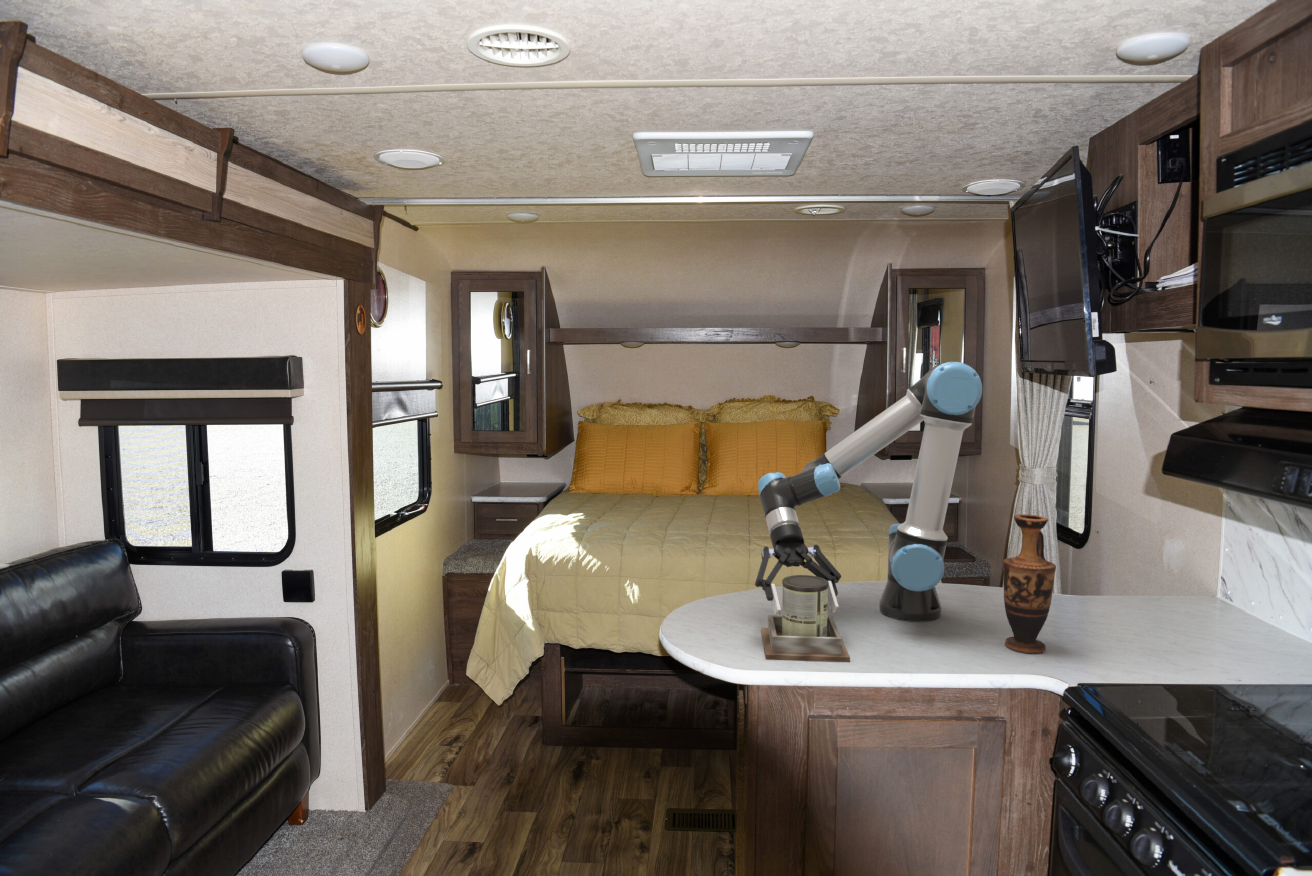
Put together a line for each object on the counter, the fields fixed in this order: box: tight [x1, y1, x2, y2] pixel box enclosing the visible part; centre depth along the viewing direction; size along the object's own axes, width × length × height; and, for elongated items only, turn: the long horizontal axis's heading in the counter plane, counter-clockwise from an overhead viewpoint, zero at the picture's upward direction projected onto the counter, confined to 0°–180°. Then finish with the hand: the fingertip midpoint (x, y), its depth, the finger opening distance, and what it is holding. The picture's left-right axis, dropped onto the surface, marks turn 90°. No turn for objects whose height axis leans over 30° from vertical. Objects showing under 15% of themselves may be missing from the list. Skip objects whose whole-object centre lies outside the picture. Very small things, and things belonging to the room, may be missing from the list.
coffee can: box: [781, 574, 829, 637], centre depth 183 cm, size 10×10×14 cm
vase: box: [1002, 513, 1057, 654], centre depth 182 cm, size 11×11×30 cm
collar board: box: [760, 614, 851, 663], centre depth 184 cm, size 18×18×4 cm
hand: (806, 611), depth 181 cm, fingers open, 13 cm apart
